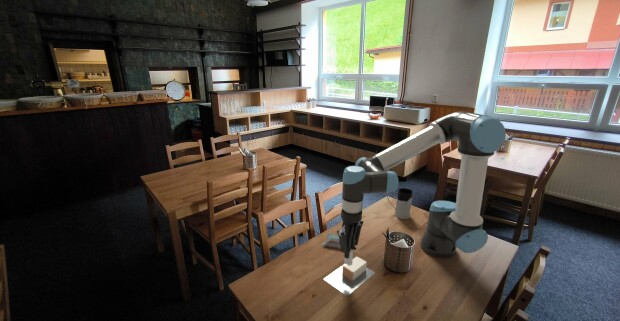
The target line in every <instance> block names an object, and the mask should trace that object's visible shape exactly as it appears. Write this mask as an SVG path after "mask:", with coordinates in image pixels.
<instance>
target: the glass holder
mask: <svg viewBox="0 0 620 321" xmlns="http://www.w3.org/2000/svg"><path fill="white" fill-rule="evenodd" d="M397 190H398V191H397V197H396V191H394V192H393V196H394V198H395V199H396V205H393V203H392V202H391V201H390V198H389V192H387V193H386V196H387V201H388V202H389V204H390V205H391V206H392V208H394V211H395V212H394V216H395V218H399V219H401V220H408V219H410V218H411V208H412V201H413V190H412V189H410V188H403V187H402V188H399V189H397Z"/></svg>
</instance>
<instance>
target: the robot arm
mask: <svg viewBox="0 0 620 321" xmlns="http://www.w3.org/2000/svg"><path fill="white" fill-rule="evenodd" d="M506 134H507V133H506V127H505V126H504V124H503V123H502V122H501V121H500V120H499V119H497V118H495V117H492V116H489V115H485V114H482V113H481V114H480V113H475V112H472V111H471V112H470V111H467V110H466V111H465V110H460V111H455V112H451V113H449V114H446V115H444V116H441V117H440V118H437V119H436V120H433V121H432V122H430V123H429V125H428V127H426V128H424V129H422V130H420V131H418V132H416V133H415V134H413V135H410V136H408V137H406V138H404V139H402V140H401V141H399V142H398V143H395V144H393V145H392V146H389V147H388V148H386V149H384V150H382V151H380V152H379V153H377V154H374V155H373V156H371V157H365V156H364V157H363V156H362V157H360V158H358V159H357V160H356V162H355V164H354V165H349V166H347V167H345V168H344V170H343V173H342V189H341V190H342V191H341V193H342V194H341V210H340V217H341V218H340V219H341V221H342V223H341V229H340V230H339V229H338V230H337V231H336V234H337V235H339V241H340V248H341V249H340V251H343V252H344V254H343V258H344V264H345V263H346V264H347V265H349V266H351V265H352V260H353V259H354V258H353V257H354V252H355V251H356V250H357V246H358V244H359V240H360V236H361V232H362V227H363V224H364V220H363V208H364V198H365V196H364V195H367V194H369V195H370V194H387V192H388V193H394V192H396V191H397V190H398V188H399V177H398V174H397V173H396V172H395V171H394V170H393V171H391V170H390V169H392V168H393V167H396V166H398V165H401V163H404V162H405V161H407V160H409V159H412V158H414V157H415V156H417V155H419V154H421V153H423V152H424V151H426V150H428V149H430V148H432V147H434V146H437V145H438V144H440V145H443V144H445V143H448V142H451V141H452V142H453V141H455V142H457V143H458V144H457V153H458V154H460V157H461V158H460V167H459V175H458V182H457V189H456V199H455V200H456V201H455V202H453V201H450V200H435V201H433V202H432V203H431V205H430V208H429V214H428V218H427V219H428V220H427V225H426V231H425V232H424V234H423V235H422V237H421V239H420V245H419V246H420V247H421V249H422V250H423V251H424V252H425V253H427V254H428V255H430V256H432V257H437V258H442V259H449V258H452V257H453V256H455V255H456V252H457V251H456V250H457V249H459V250H460V251H461V252H463V253H465V254H473V253H476V252H478V251H480V250H481V249H483V248H484V247H485V245H486V244H487V242H488V239H489V235H488V233H487V231H486V230H485V229H483V224H484V219H483V217H482V216H481V215H480V214H481V208H482V202H483V195H484V190H485V189H484V188H485V183H486V182H485V181H486V176H487V170H488V169H487V168H488V163H489V158H491V157H493V156H494V155H495V152H496V151H499V149H500V148H501V146H503V145H504V143H505V139H506V136H507V135H506Z"/></svg>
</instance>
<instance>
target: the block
mask: <svg viewBox="0 0 620 321" xmlns="http://www.w3.org/2000/svg"><path fill="white" fill-rule="evenodd" d="M367 263H368V262H367V261H366V260H364V259H363V258H360V257H358V256H355V257H354V258H353V260H352V265H351V266H349V265H347V264H345V263H344V264H345V265H344V264H343V265H344V266H343V273H342V275H344V276H345V277H347V278H348V279H350V280H351V281H353V280H354V279H356V278H357V277H358V276H359V275H361V274H362V273H363V272H364V271H366V267H367Z"/></svg>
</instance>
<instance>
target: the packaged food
mask: <svg viewBox="0 0 620 321" xmlns="http://www.w3.org/2000/svg"><path fill="white" fill-rule="evenodd" d="M325 238H326V239H325V241H324V242H322V244H321V246H322V247H329V248H330V247H331V248H335V249H339V250H341V248H340V241H339V235H338V234H337V233H334V232H333V233H331V232H329V233H327V235H326V236H325Z"/></svg>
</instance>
